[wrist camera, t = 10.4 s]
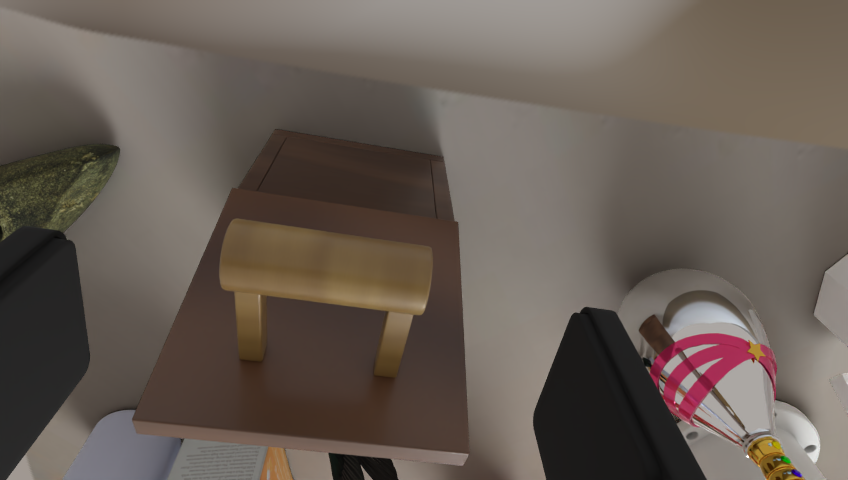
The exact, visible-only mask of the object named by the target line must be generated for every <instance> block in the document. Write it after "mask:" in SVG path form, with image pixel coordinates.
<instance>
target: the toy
mask: <svg viewBox="0 0 848 480" xmlns="http://www.w3.org/2000/svg"><path fill="white" fill-rule="evenodd" d="M617 315H618V317H619V319H620V320H621V322H622V324H623V326H624V328H625V330H626V331H627V333H628V335H629V337H630V339H631V341H632V343H633V344H634V346H635V348H636V350H637V352H638V354H639V355H640V357H641V359H642V361H643V363H644V365H645V366H646V368H647V370H648V372H649V374H650V376H651V377H652V379H653V381H654V383H655V385H656V387H657V389H658V390H659V392H660V394H661V396H662V398H663V400H664V401H665V403H666V405H667V407H668V409H669V411H670V412H671V413H672V414H673V415H675V416H677V417H679V418H680V419H681V420H682V421H684V422H686V423H687V424H689V425H691V426H693V427H701V428H703V429H705V430H707V431H709V432H711V433H713V434H714V435H716V436H718V437H720V438H722V439H724V440H726V441H727V442H729V443H731V444H733V445H734V446H736V447H738V448H739V449H741V450H742V451H743V453H744V454H745V456H746V457H747V458H748V459H750V460H751V461H752V462H754V463H755V464H756V465H757V466H758V467H759V468H760V469H761V472H762V474H763V475H764V477H765V479H766V480H805V478H804V477H803V475H802V474H801V473H800V472H799V471H798V470H797V469H796V468H795V466H794V465H793V464H792V462H791V461H790V459H789V458H788V457H786V456H785V453H784V450H783V446H782V443H781V440H780V439H779V438H778V436H777V435H776V429H775V413H774V402H775V398H776V378H775V376H776V371H777V364H776V358H775V354H774V352H773V351H772V350H771V347H770V343H769V340H768V337H767V334H766V331H765V328H764V326H763V324H762V321H761V319H760V316H759V315H758V313H757V311H756V309H755V308H754V306H753V304H752V303H751V301H750V300H749V299H748V297H746V296H745V295H744V294H743V293H742V292H741V291H740V290H739V289H738V288H737V287H736V286H734V285H733V284H731V283H730V282H728V281H726V280H724V279H722V278H721V277H718V276H716V275H714V274H711V273H708V272H705V271H702V270H696V269H685V268H679V269H670V270H665V271H662V272H659V273H656V274H654V275H651V276H649V277H647V278H646V279H644V280H643V281H641V282H640V283H638V284H637V285H636V286H635V287H634V288H632V290H631V291H630V292H629V293H628V294H627V295H626V297H625V298H624V300H623V302H622V304H621V306H620V308H619V311H618V313H617ZM774 387H775V389H774Z"/></svg>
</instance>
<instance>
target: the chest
mask: <svg viewBox="0 0 848 480" xmlns="http://www.w3.org/2000/svg"><path fill="white" fill-rule="evenodd" d="M238 189H244V190H251V191H258V192H264V193H271V194H277V195H284V196H291V197H297V198H304V199H310V200H317V201H324V202H330V203H337V204H343V205H350V206H357V207H363V208H370V209H376V210H383V211H390V212H396V213H403V214H410V215H416V216H423V217H429V218H436V219H443V220H449V221H454V215H453V209H452V203H451V197H450V191H449V186H448V180H447V174H446V168H445V163H444V157H441V156H435V155H429V154H423V153H417V152H411V151H405V150H399V149H393V148H387V147H381V146H375V145H369V144H362V143H356V142H350V141H344V140H338V139H332V138H326V137H320V136H314V135H308V134H302V133H296V132H290V131H284V130H278V129H275V130H274V132H273V133H272V135H271V137H270V138H269V140H268V142H267V143H266V145H265V146H264V148H263V149H262V151H261V153H260V154H259V156H258V157H257V159H256V160H255V162H254V164H253V165H252V167H251V168H250V170H249V171H248V173H247V175H246V176H245V178H244V179H243V181H242V183H241V184H240V186H239V187H238Z"/></svg>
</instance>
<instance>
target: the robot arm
mask: <svg viewBox="0 0 848 480" xmlns="http://www.w3.org/2000/svg"><path fill="white" fill-rule="evenodd" d="M89 361H90V351H89V344H88V336H87V329H86V322H85V314H84V307H83V300H82V292H81V285H80V277H79V270H78V263H77V255H76V248H75V245H74V243H73V242H72V241H70V240H66V236H65V235H64V233H63V232H61V231H59V230H52V229H45V228H38V227H31V226H23V227H21V228H19V229H17V230H16V231H15V232H13V233H12V234H10V235H9V236H8V237H6V238H5V239H4V240H2V241H1V242H0V480H6V479H7V478H8V476H9V475H10V474H11V473H12V471H13V470H14V469H15V467H16V466H17V464H18V463H19V462H20V460H21V459H22V458H23V456H24V455H25V454H26V452H27V451H28V450H29V448H30V447H31V446H32V444H33V443H34V442H35V440H36V439H37V438H38V436H39V435H40V434H41V432H42V431H43V430H44V428H45V427H46V426H47V424H48V423H49V422H50V420H51V419H52V418H53V416H54V415H55V414H56V412H57V411H58V410H59V408H60V407H61V406H62V404H63V403H64V401H65V400H66V399H67V397H68V396H69V395H70V393H71V392H72V391H73V389H74V388H75V387H76V385H77V384H78V383H79V381H80V380H81V379H82V377H83V376H84V374H85V373H86V371H87V368H88V365H89ZM774 413H775V429H776V435H777V436H778V438H779V439H780V440H781V443H782V446H783V450H784V453H785V456H786V457H788V458H789V459H790V461H791V462H792V464H793V465H794V466H795V468H796V469H797V470H798V471H799V472H800V473H801V474H802V475H803V477H804V478H805V480H827V479H826V478H825V477H824V475H823V474H822V473H821V471H820V470H819V469H818V467H817V466H816V465H815V463H816V461H817V459H818V455H819V451H820V437H819V435H818V432H817V430H816V428H815V427H814V425H813V424H812V423H811V422H810V420H809V419H808V418H807V417H806V415H804V414H803V413H802V412H801V411H800V410H798V409H797V408H795V407H793V406H791V405H789V404H787V403H784V402H781V401H777V400H775V402H774ZM533 426H534V431H535V436H536V440H537V444H538V448H539V452H540V456H541V460H542V464H543V468H544V472H545V476H546V480H766V479H765V477H764V475H763V474H762V472H761V469H760V468H759V467H758V466H757V465H756V464H755V463H754V462H752V461H751V460H750V459H748V458H747V457H746V456H745V454H744V453H743V451H742V450H741V449H739V448H738V447H736V446H734V445H733V444H731V443H729V442H727V441H726V440H724V439H722V438H720V437H718V436H716V435H714V434H713V433H711V432H709V431H707V430H705V429H703V428H701V427H693V426H691V425H689V424H687V423H686V422H684V421H680V422H678V423H677V424H676V422H675V420H674V418H673V416H672V414H671V412H670V411H669V409H668V407H667V405H666V403H665V401H664V400H663V398H662V396H661V394H660V392H659V390H658V389H657V387H656V385H655V383H654V381H653V379H652V377H651V376H650V374H649V372H648V370H647V368H646V366H645V365H644V363H643V361H642V359H641V357H640V355H639V354H638V352H637V350H636V348H635V346H634V344H633V343H632V341H631V339H630V337H629V335H628V333H627V331H626V330H625V328H624V326H623V324H622V322H621V320H620V319H619V317H618V315H617V314H616V312H614V311H611V310H604V309H597V308H590V307H585V308H583V309H582V310H581V312H580V313H574V314H573V315H572V316H571V318H570V320H569V323H568V325H567V328H566V330H565V333H564V336H563V338H562V341H561V343H560V346H559V349H558V351H557V354H556V356H555V359H554V361H553V364H552V367H551V369H550V372H549V374H548V377H547V380H546V382H545V385H544V387H543V390H542V392H541V395H540V398H539V400H538V403H537V405H536V408H535V411H534V416H533Z"/></svg>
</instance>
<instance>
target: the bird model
mask: <svg viewBox="0 0 848 480" xmlns="http://www.w3.org/2000/svg"><path fill="white" fill-rule="evenodd" d="M329 458H330V463H331V469H332V476H333V480H365V479H364V475H363V472H362V469H361V465H362V467H363V468H364V469H365V471H366V472H367V473H368V474H369V476H370V477H371V478H372V479H373V480H398V478H397V472H396V469H395V467H394V465H393V463H392V460H391V459H388V458H378V457H376V458H375V457H372V458H371V457H368V456H358V455H347V454H337V453H329ZM380 461H381V462H380ZM377 462H378V463H377ZM360 464H361V465H360Z"/></svg>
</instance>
